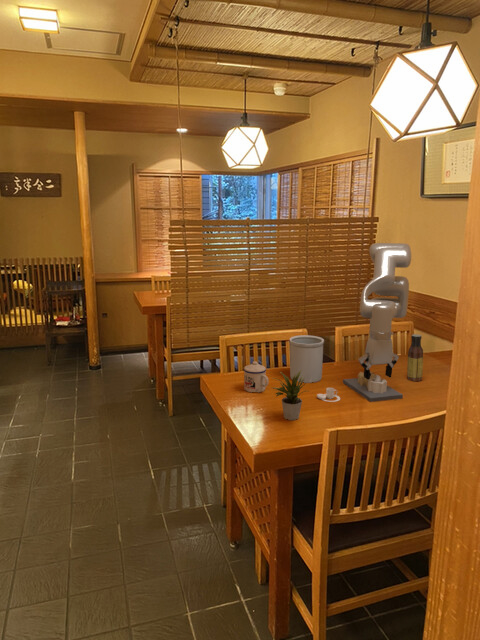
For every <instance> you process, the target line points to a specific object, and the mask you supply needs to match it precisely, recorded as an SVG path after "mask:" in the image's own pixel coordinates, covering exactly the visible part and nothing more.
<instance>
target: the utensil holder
mask: <svg viewBox="0 0 480 640" xmlns="http://www.w3.org/2000/svg"><path fill="white" fill-rule="evenodd" d="M324 344H325V339H324V338H323V337H320V336H315V335H309V334H306V335H304V334H303V335H295V336H291V337H290V338H289V368H290V369H289V373H290V375H289V376H290V377H289V378H290V379H291V380H292V379H293V377H294V375H295V377H296V376H297V374H298V372H300V371H301V372H300V376H299V378H298V382H297V383H299V380H300V378H301V377H302V379H301V382H302V380H303V379H304V381H303V382H304V384H305V383H306V384H310V383H311V384H312V382H313V383H317V382H320V381H321V379H322V377H323V376H322V375H323V360H324V359H323V357H324ZM302 375H303V376H302ZM301 382H300V383H301Z"/></svg>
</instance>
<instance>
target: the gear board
mask: <svg viewBox="0 0 480 640" xmlns="http://www.w3.org/2000/svg"><path fill="white" fill-rule="evenodd" d="M372 377H374V382H380V381H381V379H382V378H381V376H380V375H379V374H374V372H370V379H371V378H372ZM342 383H343V384H344V385H345V386H347V387H348V388H349V389H351V390H353V391H354V392H355V393H357V394H359V395H360V396H361V397H362V398H364V399H365V400H367V401H368V402H370V403H372V402H382V401H390V400H399V399H400V400H402V399H403V396H404V395H403V393H401V392H399V391H397V390H396V389H395V388H392V387H391V386H389V385H387V390H386V392H383V393H373V392H372V391H368V389H367V385H368V379H366V378H364V371H363V372H362V371H359V373H357V377H354V378H345V379H343V378H342Z"/></svg>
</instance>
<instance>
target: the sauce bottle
mask: <svg viewBox="0 0 480 640" xmlns="http://www.w3.org/2000/svg"><path fill="white" fill-rule="evenodd" d="M410 337H411V344H410V347H409V349H408V352H407V353H408V354H407V367H406V369H407V371H406V377H407V379H408V380H409V381H412V382H420V381H422V380H423V379H422V377H423V371H424V370H423V369H424V368H423V367H424V350H423V347H422V334H419V333H418V334H415V333H414V334H411V336H410Z"/></svg>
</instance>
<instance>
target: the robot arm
mask: <svg viewBox="0 0 480 640" xmlns="http://www.w3.org/2000/svg"><path fill="white" fill-rule="evenodd" d="M368 251H369V256H370V259H371V261H372V263H373V278H372V279H370V281H368V282H367V283H366V284H365V286H364V288H363V289H362V291H361V294H360V301H359V302H360V303H359V314H360V316H361V317H363V318H365V319H369V331H368V332H369V335H368V339H367V340H366V341H367V342H366V345H365V349H364V350H365V351H364V355H362V356H360V357H359V358H358V362H359V364H360V366H361V367H362V368H363V372H364V378H366V379H368V380H369V379H370V373H371V367H372V366H373V365H374V366H375V365H376V366H377V365H385V364H386V366H385V373H384V374H385V376H386V377H388V378H392V374H393V368H395V367H394V366H395V365H396V364H397V362H398V360H399V358H400V356H399V355H397V353H394V350H393V349H394V347H393V340H392V338H391V337H392V336H393V335H394V332H393V331H392V323H393V322H392V321H393V319H394V318H395V319H401V318H402V319H403V318H404V317H406V315H407V313H408V305H409V293H410V283H409V279H408V278H407V276H402V275H401V276H400V275H396V269H397V268H404V269H406V268H408V267H409V266H410V265H411V261H412V251H411V246H410V245H409V243H398V242H397V243H391V242H376V243H372V244H371V245H370V246H369V249H368ZM372 293H374V294H375V295H376V297H373V298H371V299H369V296H370V295H371V294H372Z"/></svg>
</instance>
